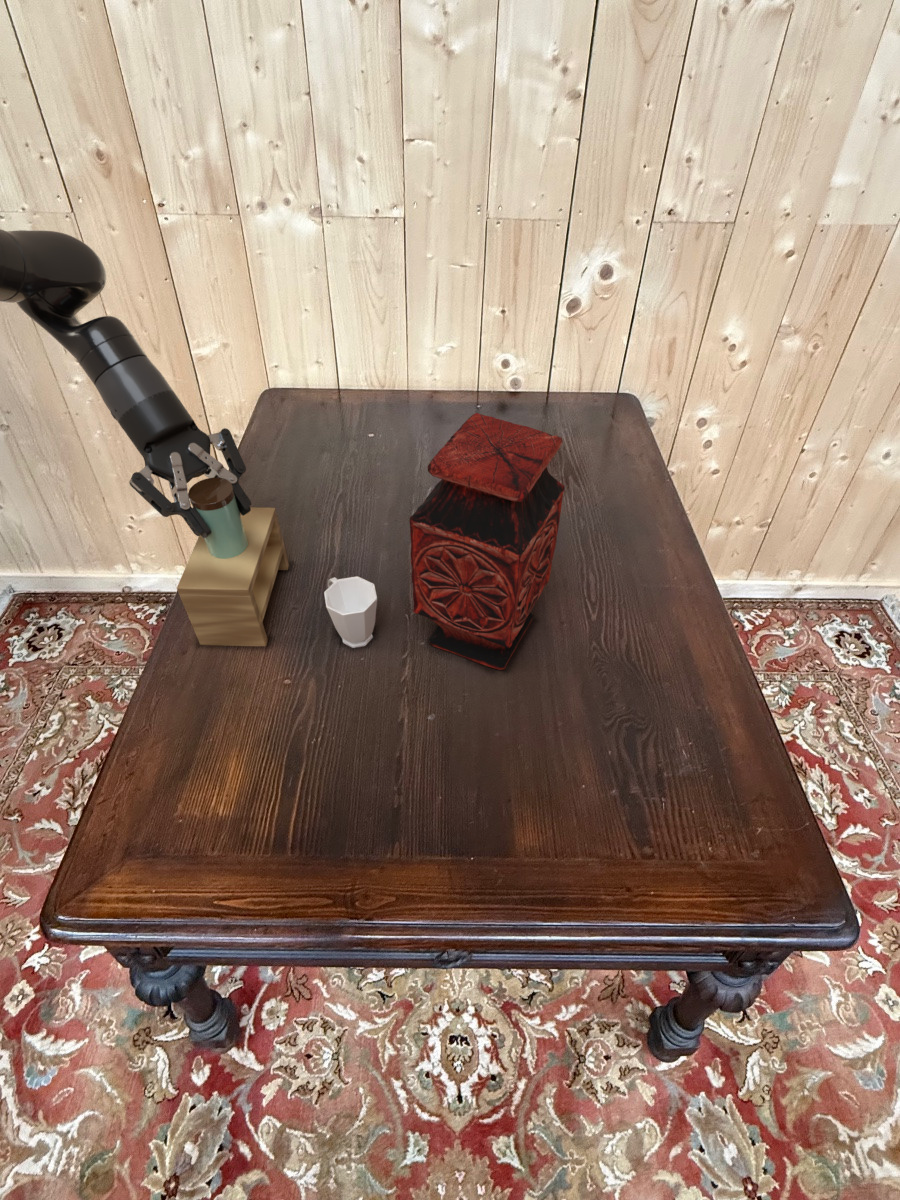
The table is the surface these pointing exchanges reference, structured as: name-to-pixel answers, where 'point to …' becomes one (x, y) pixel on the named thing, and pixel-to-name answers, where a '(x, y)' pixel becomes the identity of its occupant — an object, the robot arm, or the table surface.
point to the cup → (352, 609)
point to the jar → (219, 517)
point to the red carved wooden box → (486, 537)
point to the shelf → (234, 584)
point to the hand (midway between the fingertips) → (227, 523)
